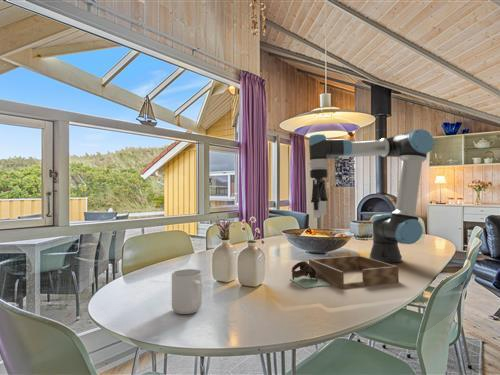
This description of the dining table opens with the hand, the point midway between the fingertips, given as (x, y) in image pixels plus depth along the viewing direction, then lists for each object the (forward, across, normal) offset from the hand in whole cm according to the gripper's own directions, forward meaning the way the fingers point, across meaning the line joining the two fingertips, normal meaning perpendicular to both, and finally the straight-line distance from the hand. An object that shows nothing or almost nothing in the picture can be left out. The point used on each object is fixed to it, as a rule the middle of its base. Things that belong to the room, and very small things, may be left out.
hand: (320, 216), depth 141 cm
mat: (+24, +20, -1) cm, 31 cm away
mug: (+23, +64, -26) cm, 73 cm away
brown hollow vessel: (+25, +17, -2) cm, 30 cm away
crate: (+25, +6, +13) cm, 29 cm away
